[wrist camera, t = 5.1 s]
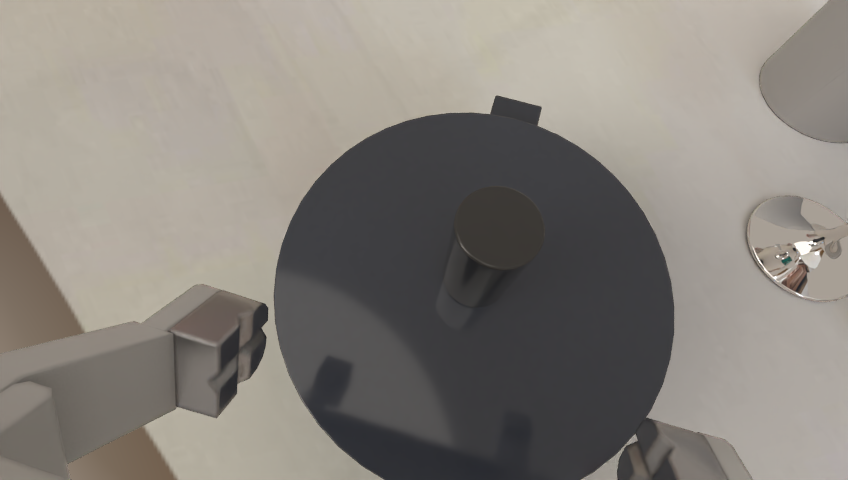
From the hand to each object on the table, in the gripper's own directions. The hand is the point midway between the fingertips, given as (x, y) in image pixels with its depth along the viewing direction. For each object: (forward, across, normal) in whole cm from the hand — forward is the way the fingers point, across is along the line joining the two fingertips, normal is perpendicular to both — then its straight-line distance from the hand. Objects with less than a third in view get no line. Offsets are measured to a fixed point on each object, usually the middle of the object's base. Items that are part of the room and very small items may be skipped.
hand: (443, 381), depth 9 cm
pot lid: (+8, -1, +2) cm, 8 cm away
